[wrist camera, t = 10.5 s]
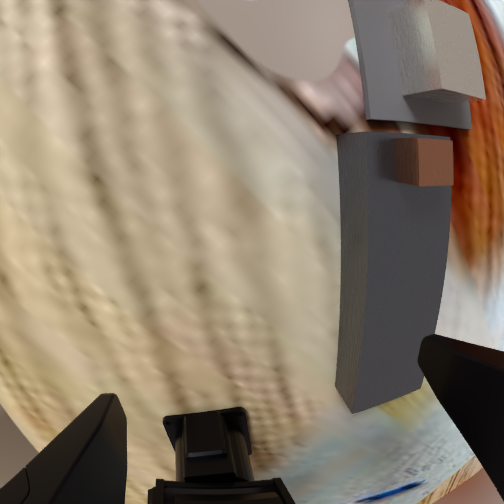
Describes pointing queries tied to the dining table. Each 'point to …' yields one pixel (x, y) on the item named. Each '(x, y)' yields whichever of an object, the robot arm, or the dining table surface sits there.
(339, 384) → the body
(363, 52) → the mat
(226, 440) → the robot arm
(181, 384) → the dining table surface
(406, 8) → the grey beige block
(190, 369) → the dining table surface
